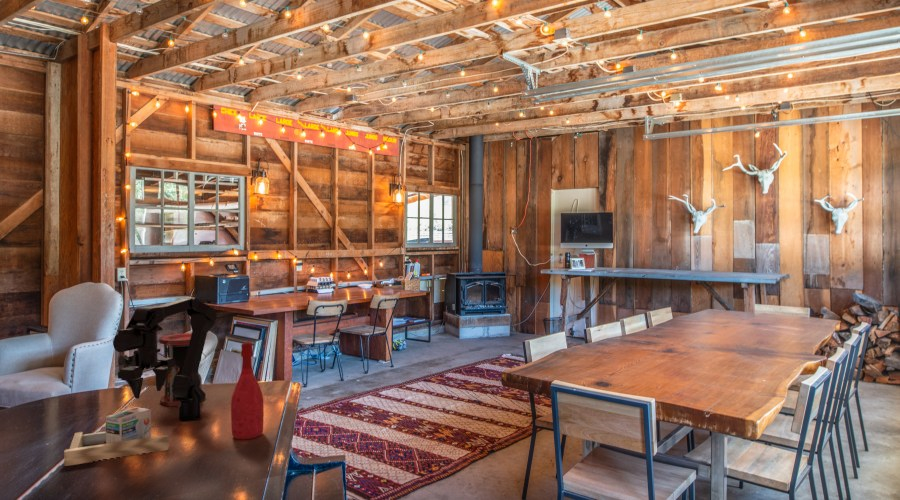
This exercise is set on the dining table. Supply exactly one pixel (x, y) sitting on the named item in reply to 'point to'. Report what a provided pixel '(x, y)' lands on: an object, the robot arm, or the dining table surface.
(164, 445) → the wall board
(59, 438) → the dining table surface
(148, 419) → the light bulb box
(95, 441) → the lip
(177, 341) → the hourglass
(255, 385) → the wine bottle
